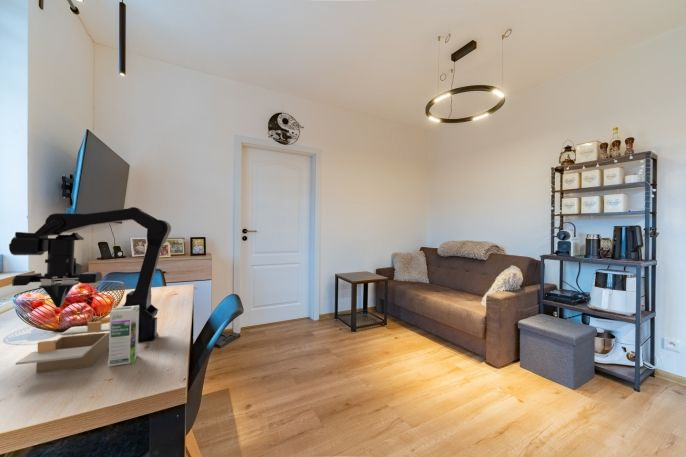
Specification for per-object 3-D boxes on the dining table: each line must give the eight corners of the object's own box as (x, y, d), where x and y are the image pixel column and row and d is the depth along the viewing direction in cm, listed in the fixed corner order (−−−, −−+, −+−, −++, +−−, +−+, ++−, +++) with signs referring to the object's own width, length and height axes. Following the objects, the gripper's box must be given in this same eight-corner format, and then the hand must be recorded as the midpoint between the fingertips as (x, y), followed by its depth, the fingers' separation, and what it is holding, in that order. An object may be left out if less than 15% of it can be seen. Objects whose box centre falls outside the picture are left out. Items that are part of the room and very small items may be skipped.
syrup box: (107, 367, 74) (109, 311, 75) (113, 358, 80) (114, 306, 80) (134, 363, 77) (136, 309, 77) (138, 355, 82) (139, 304, 82)
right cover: (118, 324, 92) (118, 315, 92) (111, 330, 86) (111, 321, 86) (71, 328, 88) (72, 319, 88) (61, 335, 82) (61, 325, 82)
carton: (108, 349, 86) (109, 332, 86) (92, 366, 75) (93, 347, 75) (60, 354, 81) (61, 336, 81) (36, 373, 71) (36, 352, 71)
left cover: (92, 347, 74) (92, 336, 74) (81, 357, 68) (82, 345, 68) (32, 354, 69) (32, 342, 69) (15, 364, 64) (16, 351, 64)
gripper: (109, 253, 98) (107, 299, 97) (36, 253, 90) (34, 303, 90) (95, 255, 87) (93, 307, 87) (12, 256, 80) (9, 312, 80)
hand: (59, 307), depth 86 cm, fingers closed
